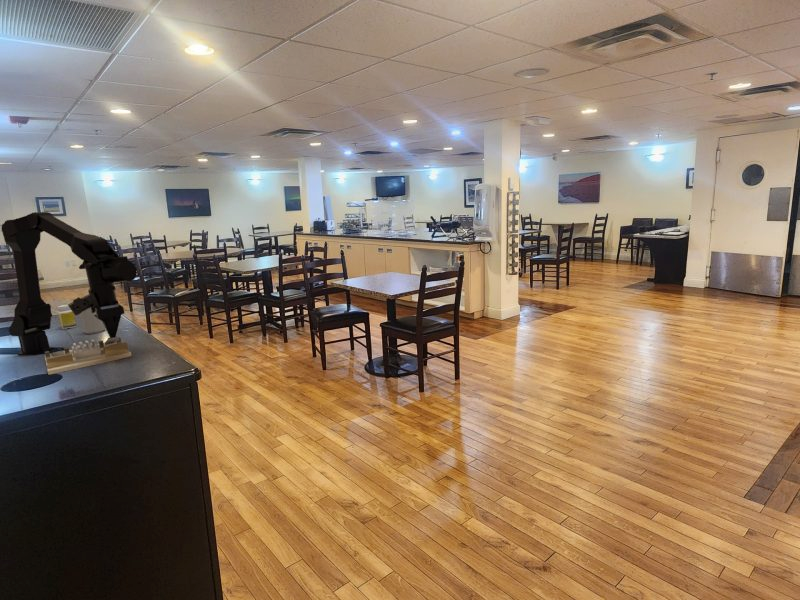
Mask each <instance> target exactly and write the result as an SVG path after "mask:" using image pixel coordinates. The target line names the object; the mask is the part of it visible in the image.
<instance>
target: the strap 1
mask: <svg viewBox="0 0 800 600" xmlns="http://www.w3.org/2000/svg"><path fill="white" fill-rule="evenodd" d="M63 351H64V350H58V351H54V352H51V353H50V354H51V355H52V356H53V357H54V356H59V355H64V352H63Z"/></svg>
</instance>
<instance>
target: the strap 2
mask: <svg viewBox="0 0 800 600" xmlns="http://www.w3.org/2000/svg"><path fill="white" fill-rule="evenodd" d="M119 337H120V336H116V337H114V338H110V337H108V338H107V339H106V340H105V341H103V343H105V345H108V344H113V343H116V342H117V341H118V340H119Z"/></svg>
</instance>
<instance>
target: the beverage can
mask: <svg viewBox="0 0 800 600" xmlns="http://www.w3.org/2000/svg"><path fill="white" fill-rule="evenodd" d="M79 315H80V320H81V325H82V330H83V333H85V334H86V335H93V334H98V333H99V334H100V333H102V332H104V331H103V330H106V328H105V326H104V324H103V322H102V321H101V320H99V319H97V318H96V317H95V316H94V315H96V312H95V313H92V312H91V308H89V309H87V310H85V311H83V312H81V313H80V314H79Z"/></svg>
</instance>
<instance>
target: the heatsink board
mask: <svg viewBox="0 0 800 600" xmlns="http://www.w3.org/2000/svg"><path fill="white" fill-rule="evenodd" d="M118 337H119V340H118V341H117V342H116V343H113V344H108V345H105V343H104V340H98V342H97V341H96V340H95V339H93V338H92V339H91V342H89V340H85V343H84V342H82V341H79V342H78V344H76V343H77V342H74V343H72V345H71V349H70V348H69V347H68V346H67V347H63V350H62V351H63V352H64V355H59V356H54V357H53V356H52V355H51V353H50V351H49V350H47V351H45V352H44V356H43V357H44V360H45V364H46V370H47V373H48V376H49V375H54V374H57V373H64V372H66V371H67V372H68V371H72V370H76V369H80V368H85V367H90V366H94V365H99V364H103V363H107V362H111V361H116V360H121V359H125V358H130V357H132V352H131V351H130V350H129V346H128V342H127V341H122V338H121V337H120V336H118Z"/></svg>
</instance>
